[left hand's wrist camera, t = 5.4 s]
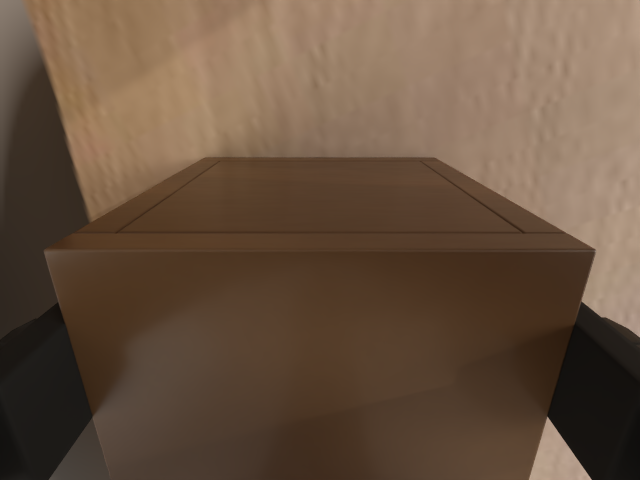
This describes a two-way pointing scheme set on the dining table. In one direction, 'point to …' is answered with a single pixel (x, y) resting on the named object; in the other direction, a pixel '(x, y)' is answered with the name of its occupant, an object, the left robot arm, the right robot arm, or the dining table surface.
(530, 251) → the cabinet
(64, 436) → the left robot arm
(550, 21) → the dining table surface
